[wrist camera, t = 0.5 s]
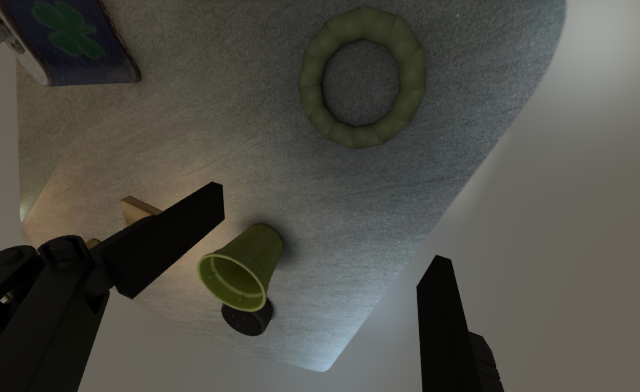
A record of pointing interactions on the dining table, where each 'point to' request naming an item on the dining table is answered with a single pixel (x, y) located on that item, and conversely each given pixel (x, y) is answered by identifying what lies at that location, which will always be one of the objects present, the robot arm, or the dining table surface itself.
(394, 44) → the ring
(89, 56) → the flask
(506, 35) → the dining table surface
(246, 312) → the smart speaker
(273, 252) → the plant pot
